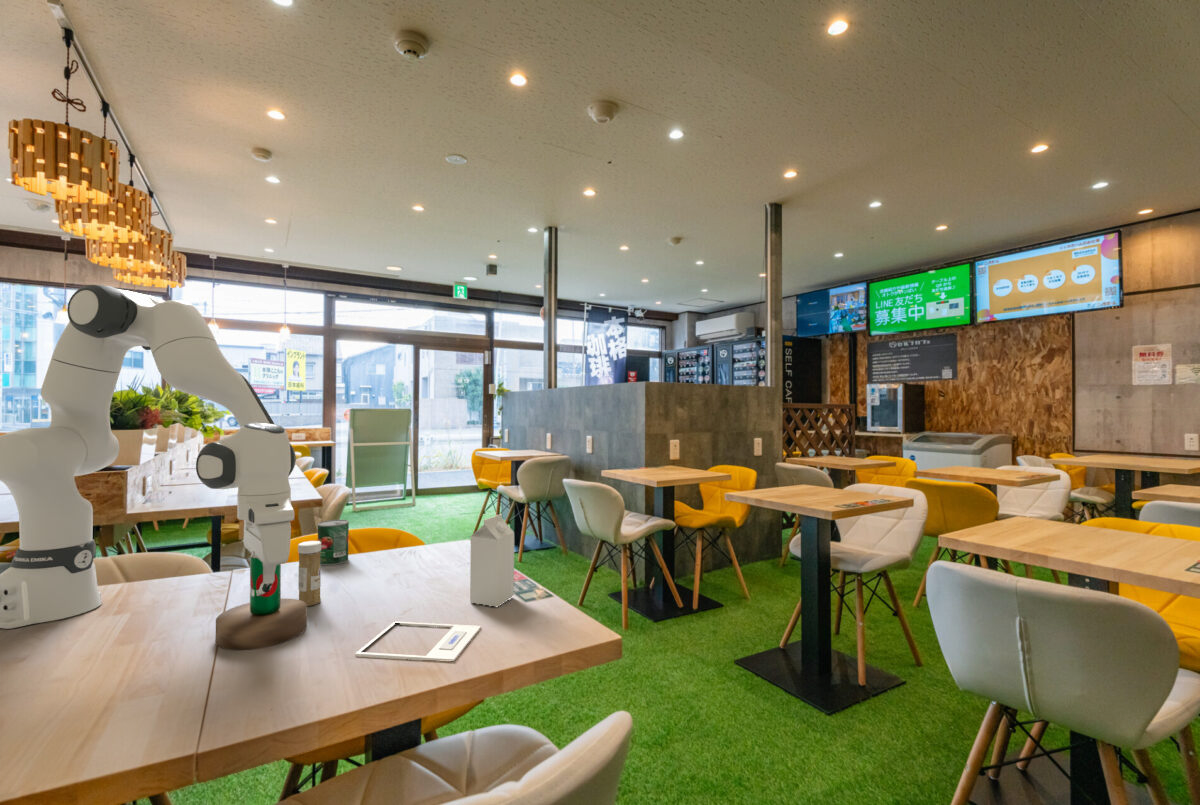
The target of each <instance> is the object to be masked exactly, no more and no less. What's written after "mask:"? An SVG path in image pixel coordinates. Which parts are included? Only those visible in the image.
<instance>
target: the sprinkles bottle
mask: <svg viewBox="0 0 1200 805" xmlns="http://www.w3.org/2000/svg"><path fill="white" fill-rule="evenodd" d="M320 552H321V542H320V541H318V540H308V541H303V542H301V543H298V545H297V553H298V600H301V601H303V602H305V603H306V604H307V607H311V606H315V605H317V604H319V603H321V601H322V599H321V586H322V585H321V574H322V573H321V569H322V568H321V565H320Z"/></svg>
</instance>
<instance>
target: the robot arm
mask: <svg viewBox="0 0 1200 805" xmlns="http://www.w3.org/2000/svg"><path fill="white" fill-rule="evenodd" d="M66 309H67V316H68V320H69V321H68V323H67V325H66V326H65V328H64V330H63V331H62V333H61V335H60V336H59V339H58V341H57V343H56V346H55V348H54V350H53V353H52V355H51V358H50V361H49V365H48V367H47V371H46V374H45V376H44V379H43V382H42V385H41V388H40V395H41V398H42V400H43V401H44V402H45V403H47V404H48V406H49V408H50V412H51V413H50V414H51V415H50V416H51V417H50V418H51V420H50V424H49V426H45V427H29V428H28V427H26V428H22V429H18V430H15V431H12V432H11V431H10V432H8V433H5V434H1V435H0V482H2V483H3V484H4V485H5V486H6V487H7V488H8V490H9V491H10V493H11V496H12V497H13V499H14V502H15V504H16V507H17V511H18V512H17V513H18V523H19V525H18V526H19V527H18V528H19V547H18V548H17V549H16V550H12V551H8V552H6V554H7V556H6V559H9V558H12V560H11V562H10V565H9V566H10V567H9V568H7V569H5V570H4V571H2V573H0V629H7V630H8V629H15V628H20V627H24V626H29V625H33V624H39V623H45V622H53V621H58V620H62V619H66V618H70V617H75V616H78V615H80V614H81V615H82V614H84V613H86V612H87V613H88V612H90V611H92V610H94V609H96V608H98V607H100V606H101V605H102V604H103V601H102V599H101V598H102V593H101V591H99V586H98V579H97V571H96V564H95V563H94V559H95V558H94V557H95V556H96V548H97V545H96V540H95V539H93V526H94V524H93V523H94V522H93V521H94V515H93V514H94V511H93V510H94V508H93V504H92V503H91V502H90V500H88V499H86V498H85V497H83V496H82V494H81V493H80V492H79V490H78V488H77V484H76V481H75V477H77V476H84V475H88V474H89V475H90V474H93V473H95V472H97V471H101V470H102V469H104V468H106V467H109V466H110V465H112V464H113V463H115V461H116V460H117V458H118V457H119V454H120V449H121V448H120V442H119V440H118V438H117V436H116V435H115V434H114V433H113V432H112V428H111V418H110V416H111V415H110V414H111V404H112V400H113V397H114V392H115V390H116V387H117V384H118V383H117V382H118V380H119V378H120V377H119V376H120V374H121V370H122V368H123V367H122V366H123V362H124V359H125V356H126V354H127V353H128V351H129V350H131V349H133V348H134V347H135V348H136V347H141V348H143V349H144V351H151V355H152V357H153V360H154V362H155V365H156V368H157V370H158V372H159V374H160V375H161V377H162V378H163V380H164V382H166V383H167V384H168V385H169V386H170V387H172V388H174V389H176V390H177V391H179V392H182V393H185V394H187V395H190V396H194V397H199V398H202V399H205V400H207V401H211V402H213V403H215V404H218V405H220V406H222V407H224V408H226V409H227V410H228V411H229V412H230V414H232V415H233V416H234V418H235V420H236V421H237V423H238V425H239V427H240V428H239V429H238V431H237V432H235V433H233V434H232V435H230V436H228V437H225V438H222V439H219V440H216V441H213V442H209V443H207V444H206V445H204V446H203V447H202V448H201V450H199V452H198V455H197V457H196V461H195V471H196V474H197V477H198V480H200V482H201V483H202V484H203V485H204V486H206V487H207V488H209V489H212V490H229V489H236V488H237V501H236V502H237V504H236V506H237V510H236V511H237V515H236V516H237V519H238V520H241V521H243V540H242V541H243V547H244V548H245V549H247V550H248V552H250V553H251V555H252V554H253V551H254V552H255V553H254V554H255V556H256V557H257V558H258V559H259V560H260V561H261V562H262V565H263V574H262V581H263V583H264V584H269V583H273V582H274V580H275V570H276V566H277V565H279V564H281V565H283V564H286V563H287V562H288V560H289V556H290V549H291V535H292V533H291V532H292V526H291V525H292V524H291V522H292V521H294V520H295V509H294V507H293V505H292V499H291V498H292V497H291V493H292V491H291V485H290V483H289V482H290V481H289V477H290V475H291V474H292V472H294V469H295V466H296V463H297V456H296V452H295V449H294V447H293V445H292V444H291V443H290V438H289V435H288V434H289V433H288V432H287V430H286V429H285V427H282V426H281V425H278V424H275V422H274V421H273V419H272V417H271V416H270V413H269V412H268V410H267V408H266V407H265V406H264V404H263V402H262V401H261V399H260V397H259V396H258V394H257V392H256V391H255V389H254V388H253V386H252V384H251V383H250V382H249V381H248V379H247V378H246V377H245V376H244V375H242V374H241V373H240V372H238V371H237V370H236V368H234V367H233V365H231V363H230V362H229V361H228V359H226V357H225V356H224V354H223V353H222V351H221V349H220V347H219V345H218V343H217V341H216V339H215V336H214V334H213V332H212V330H211V328H210V327H209V324H208V323H207V322H206V320H205V318H204V317H203V316H202V314H201V313H200V311H199V310H198V309H197V307H196V306H194V305H193V304H190V303H189V302H186V301H183V300H178V299H177V300H176V299H175V300H174V299H173V300H163V299H160V298H158V297H155V296H152V295H148V294H146V293H142V292H140V293H139V292H134V291H130V290H126V289H125V290H124V289H120V288H116V287H114V286H111V285H106V284H105V285H104V284H88V285H83V286H82V287H80V288H78V289H77V290H76V291H75V292H74V293H73V294H72V296H71V297H70V298H69V301H68V303H67V308H66ZM8 554H9V555H8Z"/></svg>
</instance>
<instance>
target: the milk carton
mask: <svg viewBox="0 0 1200 805" xmlns="http://www.w3.org/2000/svg"><path fill="white" fill-rule="evenodd" d="M502 516H503V515H502V513H499V514H497V515H494V516H491V517H489V518H485V519H483V525H482V526H481V527H479V528H478V529H477V530H476V531H474V533H473V534H471V535H470V570H469V571H470V573H469V574H470V576H469V577H470V578H469V580H470V581H469V583H470V584H469V588H470V589H469V590H470V591H469V592H470V594H469V602H470V604H473V603H476V604H475V605H479V604H483V605H482V606H485V605H491V606H499V605H500V604H502V603H503V602H505V601H506V600H508V599H509V598H511V597H512V596H513V595H514V596H515V532H514V530H513V529H512V528H511V527H510V526H509V525H508V524H507V523H506V522H505V521H504V519H503V518H502ZM502 605H503V604H502ZM491 606H490V607H491ZM499 607H500V606H499Z"/></svg>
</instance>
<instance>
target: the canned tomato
mask: <svg viewBox="0 0 1200 805" xmlns="http://www.w3.org/2000/svg"><path fill="white" fill-rule="evenodd" d="M349 524H350V521H349V520H348V519H347V520H346V519H331V520H328V519H327V520H323V521H320V522H318V523H317V541H320V542H321V552H320V566H323V565H330V566H336V565H335V564H338V565H340V564H339V563H342V564H344V562H345V563H347V562H348V561H349V538H350V537H349V529H350V526H349ZM346 561H347V562H346Z"/></svg>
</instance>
